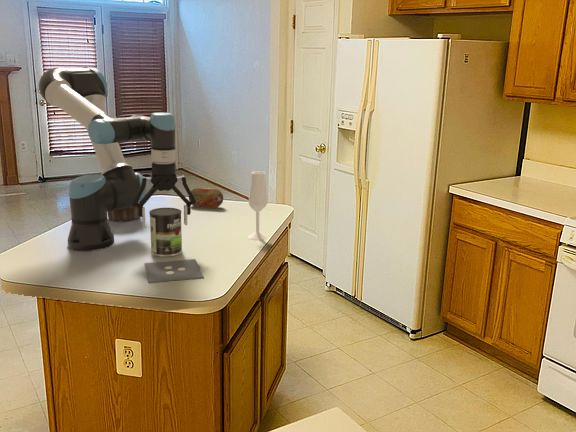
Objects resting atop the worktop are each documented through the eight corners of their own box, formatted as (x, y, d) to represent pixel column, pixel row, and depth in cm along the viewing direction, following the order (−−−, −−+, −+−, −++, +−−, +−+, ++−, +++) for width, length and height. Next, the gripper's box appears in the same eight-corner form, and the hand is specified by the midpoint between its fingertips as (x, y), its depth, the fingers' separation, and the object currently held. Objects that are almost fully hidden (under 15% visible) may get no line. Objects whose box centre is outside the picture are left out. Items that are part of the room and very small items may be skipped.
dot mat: (148, 283, 165) (148, 282, 165) (144, 264, 180) (144, 263, 180) (203, 278, 170) (203, 276, 170) (195, 259, 185) (195, 258, 185)
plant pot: (94, 221, 223) (91, 181, 219) (115, 211, 238) (113, 173, 234) (132, 225, 220) (130, 184, 215) (151, 214, 235) (150, 176, 231)
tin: (188, 206, 248) (188, 187, 246) (191, 205, 251) (190, 186, 249) (222, 209, 246) (222, 190, 244) (224, 207, 249) (224, 188, 247)
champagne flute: (263, 240, 206) (264, 175, 199) (246, 238, 207) (246, 173, 201) (268, 235, 212) (269, 171, 205) (251, 233, 213) (251, 170, 207)
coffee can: (188, 250, 193) (187, 210, 189) (167, 259, 185) (165, 217, 181) (166, 244, 198) (164, 205, 195) (144, 252, 190) (142, 212, 186)
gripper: (123, 165, 176) (126, 230, 182) (204, 163, 184) (204, 226, 190) (122, 160, 183) (125, 223, 189) (200, 158, 191) (200, 219, 197)
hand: (165, 225), depth 189 cm, fingers open, 13 cm apart
